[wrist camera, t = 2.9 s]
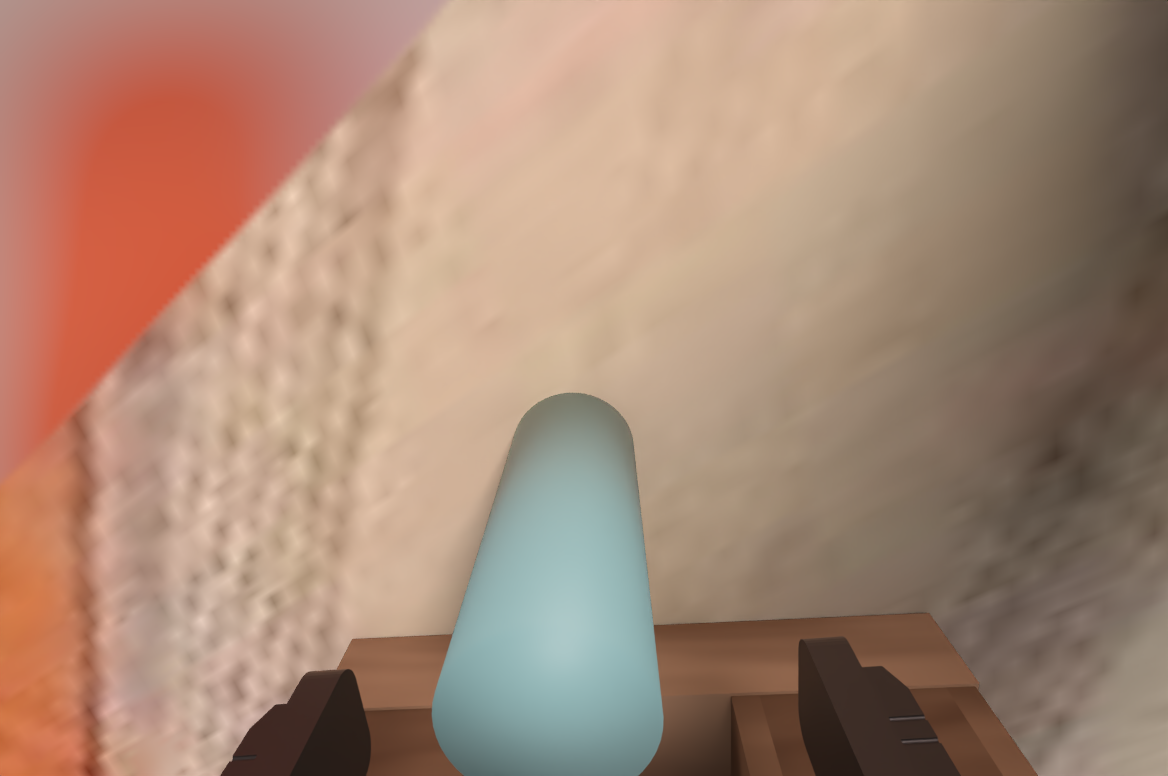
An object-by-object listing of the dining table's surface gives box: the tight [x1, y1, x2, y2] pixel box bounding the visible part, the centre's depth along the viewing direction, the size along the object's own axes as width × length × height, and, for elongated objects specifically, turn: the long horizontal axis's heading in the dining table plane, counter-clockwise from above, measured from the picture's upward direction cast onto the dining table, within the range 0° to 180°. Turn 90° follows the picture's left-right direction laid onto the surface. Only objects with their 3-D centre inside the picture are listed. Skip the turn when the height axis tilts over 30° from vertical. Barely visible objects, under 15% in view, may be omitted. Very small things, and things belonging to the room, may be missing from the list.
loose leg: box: [432, 393, 664, 776], centre depth 15 cm, size 4×4×10 cm
